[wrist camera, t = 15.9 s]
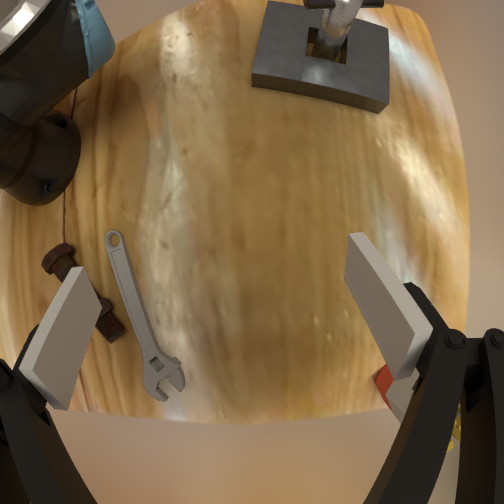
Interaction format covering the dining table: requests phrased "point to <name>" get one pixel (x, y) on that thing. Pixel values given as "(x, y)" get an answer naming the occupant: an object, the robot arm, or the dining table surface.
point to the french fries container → (406, 397)
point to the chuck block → (320, 70)
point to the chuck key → (336, 23)
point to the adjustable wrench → (142, 324)
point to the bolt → (106, 322)
